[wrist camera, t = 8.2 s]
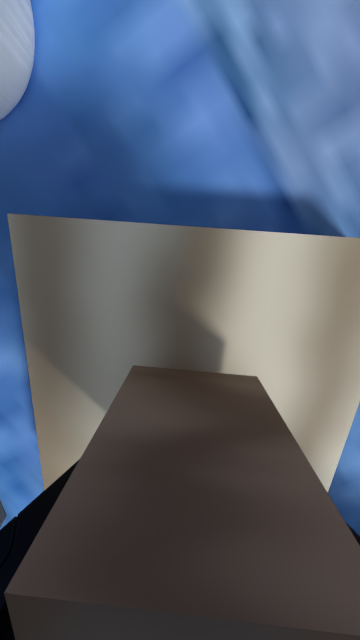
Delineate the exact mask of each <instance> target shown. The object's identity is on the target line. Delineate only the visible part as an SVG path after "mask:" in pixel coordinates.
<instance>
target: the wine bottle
mask: <svg viewBox="0 0 360 640" xmlns="http://www.w3.org/2000/svg"><path fill="white" fill-rule="evenodd" d="M5 518H6V514H5V512H4V509H3V507H2V504H1V502H0V526H1V524H2V523H3V521H4V519H5Z"/></svg>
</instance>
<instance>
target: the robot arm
mask: <svg viewBox="0 0 360 640" xmlns="http://www.w3.org/2000/svg"><path fill="white" fill-rule="evenodd" d="M79 460H80V459H79ZM79 460H78V461H77V462H76V463H75V464H73V465H72V466H71V467H70V468H69V469H68V470H67V471H66V472H64V473H63V474H62V475H61V476H60V477H59V478H58V479H57V480H56V481H54V482H53V483H52V484H51V485H50V486H49V487H48V488H47V489H46V490H44V491H43V492H42V493H41V494H40V495H39V496H38V497H37V498H35V499H34V500H33V501H32V502H31V503H30V504H29V505H28V506H27V507H25V508H24V509H23V510H22V511H21V512H20V513H19V514H18V516H17V517H14V518H13V519H12V520H11V521H10V522H9V523H7V524H6V525H5V526H4V527H3V528H2V529H1V530H0V640H15V636H14V632H13V628H12V624H11V620H10V615H9V611H8V607H7V603H6V599H5V595H4V592H5V590H6V589H7V587H8V585H9V583H10V582H11V580H12V578H13V576H14V575H15V573H16V571H17V569H18V567H19V566H20V564H21V562H22V560H23V559H24V557H25V555H26V553H27V552H28V550H29V548H30V546H31V545H32V543H33V541H34V539H35V537H36V536H37V534H38V532H39V530H40V529H41V527H42V525H43V523H44V522H45V520H46V518H47V516H48V515H49V513H50V511H51V509H52V508H53V506H54V504H55V502H56V500H57V499H58V497H59V495H60V493H61V492H62V490H63V488H64V486H65V485H66V483H67V481H68V479H69V478H70V476H71V474H72V472H73V470H74V469H75V467H76V465H77V463H78V462H79ZM346 524H347V523H346ZM347 526H348V527H349V529H350V531H351V532H352V534H353V536H354V537H355V539H356V540H357V542H358V544H359V545H360V536H359V535H358V534H357V533H356V532H355V531H354V530H353V529H352V528H351V527H350V526H349V525H348V524H347Z"/></svg>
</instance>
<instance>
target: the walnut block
mask: <svg viewBox="0 0 360 640" xmlns="http://www.w3.org/2000/svg"><path fill="white" fill-rule="evenodd" d="M4 595H5V599H6V603H7V607H8V611H9V615H10V620H11V624H12V628H13V632H14V636H15V640H360V545H359V544H358V542H357V540H356V539H355V537H354V536H353V534H352V532H351V531H350V529H349V527H348V526H347V524H346V522H345V521H344V519H343V517H342V516H341V514H340V512H339V511H338V509H337V507H336V506H335V504H334V503H333V501H332V499H331V498H330V496H329V494H328V493H327V491H326V489H325V488H324V486H323V484H322V483H321V481H320V479H319V478H318V476H317V474H316V473H315V471H314V470H313V468H312V466H311V465H310V463H309V461H308V460H307V458H306V456H305V455H304V453H303V451H302V450H301V448H300V446H299V445H298V443H297V441H296V440H295V438H294V436H293V435H292V433H291V432H290V430H289V428H288V427H287V425H286V423H285V422H284V420H283V418H282V417H281V415H280V413H279V412H278V410H277V408H276V407H275V405H274V403H273V402H272V400H271V399H270V397H269V395H268V394H267V392H266V390H265V389H264V387H263V385H262V384H261V382H260V380H259V379H258V377H257V376H247V375H236V374H225V373H214V372H203V371H192V370H181V369H170V368H158V367H147V366H136V365H133V366H132V368H131V370H130V372H129V373H128V375H127V377H126V379H125V381H124V382H123V384H122V386H121V388H120V389H119V391H118V393H117V395H116V396H115V398H114V400H113V402H112V403H111V405H110V407H109V409H108V411H107V412H106V414H105V416H104V418H103V419H102V421H101V423H100V425H99V426H98V428H97V430H96V432H95V433H94V435H93V437H92V439H91V440H90V442H89V444H88V446H87V448H86V449H85V451H84V453H83V455H82V456H81V458H80V460H79V462H78V463H77V465H76V467H75V469H74V470H73V472H72V474H71V476H70V478H69V479H68V481H67V483H66V485H65V486H64V488H63V490H62V492H61V493H60V495H59V497H58V499H57V500H56V502H55V504H54V506H53V508H52V509H51V511H50V513H49V515H48V516H47V518H46V520H45V522H44V523H43V525H42V527H41V529H40V530H39V532H38V534H37V536H36V537H35V539H34V541H33V543H32V545H31V546H30V548H29V550H28V552H27V553H26V555H25V557H24V559H23V560H22V562H21V564H20V566H19V567H18V569H17V571H16V573H15V575H14V576H13V578H12V580H11V582H10V583H9V585H8V587H7V589H6V590H5V592H4Z"/></svg>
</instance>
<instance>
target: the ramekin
mask: <svg viewBox="0 0 360 640" xmlns="http://www.w3.org/2000/svg"><path fill="white" fill-rule="evenodd" d="M34 50H35V31H34V21H33V13H32V8H31V3H30V0H0V120H1V119H3V118H4V117H5V116H7V115H8V114H9V113H10V112H11V111H12V110H13V108H14V107H15V106H16V105H17V104H18V102H19V101H20V99H21V97H22V96H23V94H24V92H25V90H26V88H27V85H28V82H29V79H30V76H31V72H32V68H33V62H34Z"/></svg>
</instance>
